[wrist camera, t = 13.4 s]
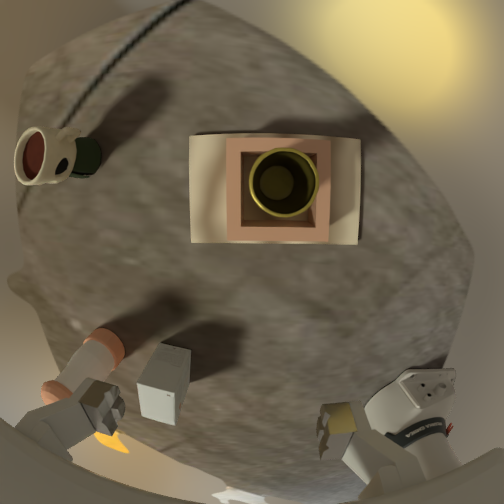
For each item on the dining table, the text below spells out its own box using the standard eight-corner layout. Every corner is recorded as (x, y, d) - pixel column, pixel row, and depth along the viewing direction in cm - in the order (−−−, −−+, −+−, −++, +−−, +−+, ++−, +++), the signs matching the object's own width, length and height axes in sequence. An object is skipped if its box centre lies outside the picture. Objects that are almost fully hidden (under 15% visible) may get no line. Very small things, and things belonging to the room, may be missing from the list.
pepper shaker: (123, 367, 43) (75, 438, 24) (91, 350, 42) (37, 412, 24) (127, 338, 41) (70, 413, 22) (92, 321, 41) (28, 383, 22)
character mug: (72, 195, 35) (14, 205, 23) (59, 159, 34) (2, 159, 21) (121, 157, 34) (64, 152, 21) (106, 119, 32) (50, 102, 20)
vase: (302, 160, 32) (328, 145, 18) (298, 209, 34) (321, 227, 20) (253, 156, 32) (244, 138, 18) (250, 205, 34) (239, 220, 20)
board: (357, 140, 32) (360, 139, 31) (354, 242, 35) (357, 244, 34) (191, 137, 33) (189, 136, 32) (193, 241, 36) (191, 242, 35)
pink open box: (320, 146, 31) (330, 140, 26) (318, 232, 34) (328, 241, 29) (232, 145, 32) (226, 138, 27) (232, 231, 35) (227, 240, 29)
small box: (159, 341, 41) (135, 381, 30) (192, 349, 41) (175, 392, 31) (160, 376, 43) (140, 416, 33) (190, 383, 43) (175, 426, 33)
